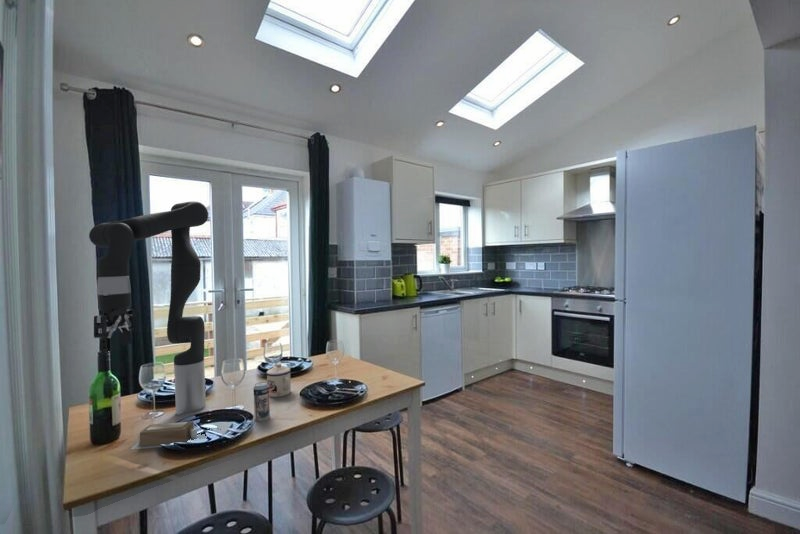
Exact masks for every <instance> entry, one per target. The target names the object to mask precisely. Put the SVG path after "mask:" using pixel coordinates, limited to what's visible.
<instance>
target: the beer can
mask: <svg viewBox="0 0 800 534" xmlns="http://www.w3.org/2000/svg"><path fill="white" fill-rule="evenodd" d="M270 407H271V406H270V396H269V385H268V383H267V381H262V382H257V383H255V384H254V386H253V408H254V409H253V410H254V414H253V415H254V421H256V422H262V421H266V420H269V419H270V418H271V411H270V410H271V409H270Z"/></svg>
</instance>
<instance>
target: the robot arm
mask: <svg viewBox="0 0 800 534" xmlns="http://www.w3.org/2000/svg"><path fill="white" fill-rule="evenodd" d="M208 218H209V212H208V208H207V207H206V206H205V204H203V203H202V202H199V201H194V200H193V201H192V200H191V201H183V202H178V203H175V204H174V205H172V207H171V209H170V210H168V211H167V210H166V211H161V212H155V213H148V214H144V215H142V214H141V215H138V216H134V217H130V218H128V219H122V220H115V221H108V222H103V223H99V224H97V225H94V226H93V227H92V228H91V230H89V234H88V238H89V240H90V242H91V243H92V244H93V245H94V246H96V247H98V248H103V249H108V250H107V253H106V254H105V255H104V256H101V257H99V258H98V260H97V277H98V278H97V287H96V288H97V289H96V290H97V309H98V310H99V311H102V315H94V317H93V338H95V339H100V350H101V352H102V353H110V352H111V351H113V346H112V345H113V343H112V336H113V333H114V332H115V331H116V330H117V328H118V329H119V330H120V332H121V333H120V338H121V339H120V341H121V345H122V346H129V345H131V342H132V337H131V333H132V331H133V330H135V329H136V319H135V318H136V317H135V309H129V308H131V307H132V294H131V292H132V288H131V281H130V273H129V272H130V269H129V261H130V258H131V255H132V251H133V247H134V243H135V241H140V240H141V241H142V240H146V239H148V238H151V237H155V236H157V235H160V234H164V233H167V232H170V234H171V264H170V299H169V309H168V317H167V325H166V326H167V327H166V337H167V339H168V342H169V343H170V344H174V345H175V344H176V345H177V344H188V343H189V344H190V346H189V348H188V349H187V350H184V351H181V352H179V353H177V354H176V355H174V356H173V369H174V370H173V373H174V396H175V398H174V399H175V414H176V415H177V416H178V415H181V414H187V413H188V414H189V413H192V412H196V411H200V410H201V409H204V408H206V406H207V403H206V401H207V399H206V396H207V395H206V376H205V334H206V333H205V328H206V327H205V321H204V319H203V317H201V316H199V315H198V316H197V315H195V316H194V315H193V316H183V315H184V308H185V306H186V303H187V302H188V300H189V298H190V297H191V295H192V294H193V292H194V291H195V290H196V288H197V286H198V285H199V284H200V282H201V269H202V268H201V266H202V265H201V260H200V257H199V256H198V254H197V252H196V250H195V249H194V247H193V246H192V244H191V238H190V237H191V236H190V231H191V228H195V227H200V226H202V225H204V224H205V223H206V222H208ZM108 351H109V352H108Z"/></svg>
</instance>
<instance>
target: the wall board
mask: <svg viewBox="0 0 800 534" xmlns="http://www.w3.org/2000/svg"><path fill="white" fill-rule="evenodd" d="M213 424H216V426H217V428H219V430H218V429H217V430H216V431H217V433H222V434H223V433H224V434H226V432H227V431H228V430H229V428H231V426H232V424H234V421H229V422H226V421H225V422H218V423H217V422H216V423H215V422H214V423H213ZM207 429H209V428H207ZM220 429H221V430H220ZM210 430H211V428H210ZM190 433H191V438H190V439H191V440H194V439H197V438H199V439H201V438H202V439H203V438H204V439H205V438H207V436H205V434H202V435H201V433H200V434H198V435H199V436H197V429H192V430H190ZM190 439H189V440H190ZM137 440H138V441H137V443H135V445H133V446H131V448H129V451H130V450H132V451H133V450H140V449H141V450H142V449H143V450H144V449H153V448H154V449H155V448H163V447H162V446H160V445H157V446H145V447H140V433H138V434H137Z"/></svg>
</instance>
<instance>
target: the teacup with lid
mask: <svg viewBox="0 0 800 534" xmlns="http://www.w3.org/2000/svg"><path fill="white" fill-rule="evenodd" d="M291 372H292V371H291V368H290V367H287V366H284V365H282V364H281V363H276V364H275V365H274V366H273V367H272V368H270V369H268V370H267V371H266V380H267V381H266V383H268V385H269V397H271V398H278V397H284V396H286V395H290V394H291V391H292V389H291V388H292V387H291V385H292V384H291V383H292V381H291Z"/></svg>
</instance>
